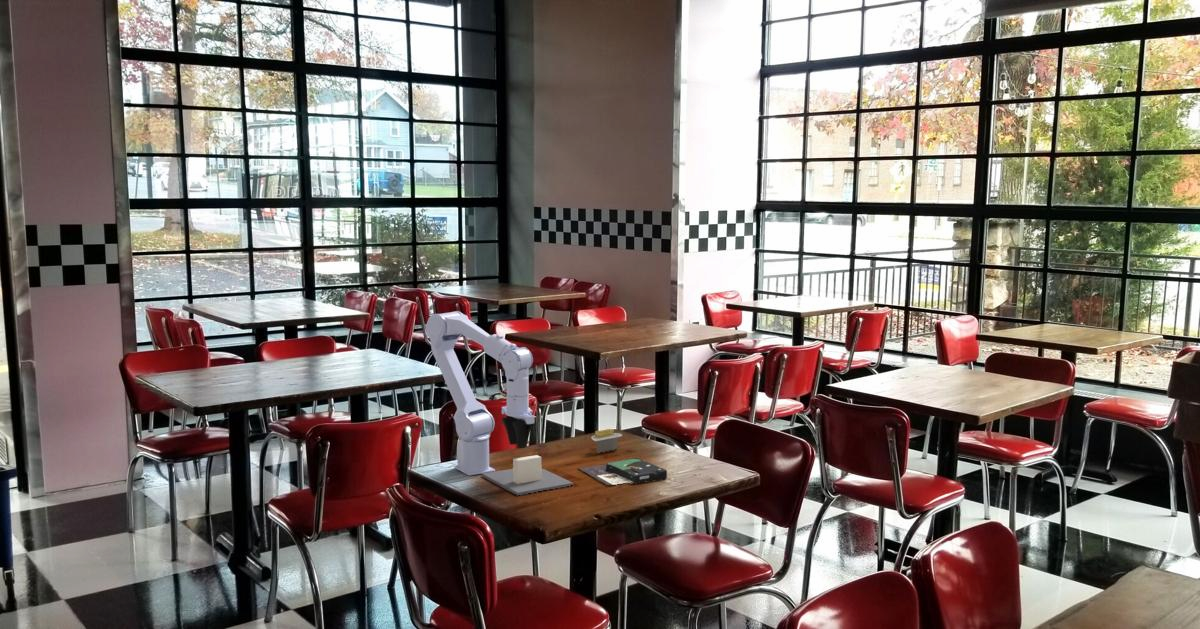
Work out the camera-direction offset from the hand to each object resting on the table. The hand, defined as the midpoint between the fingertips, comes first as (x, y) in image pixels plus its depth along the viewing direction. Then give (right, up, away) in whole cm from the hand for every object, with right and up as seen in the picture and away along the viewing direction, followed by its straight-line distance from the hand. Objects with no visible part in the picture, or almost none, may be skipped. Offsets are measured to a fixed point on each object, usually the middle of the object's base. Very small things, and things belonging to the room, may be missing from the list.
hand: (517, 445), depth 254 cm
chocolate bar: (+24, -9, +5) cm, 26 cm away
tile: (+3, -9, -3) cm, 10 cm away
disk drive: (+31, -9, +6) cm, 33 cm away
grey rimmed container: (+23, -6, +30) cm, 39 cm away
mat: (+2, -9, -1) cm, 9 cm away
